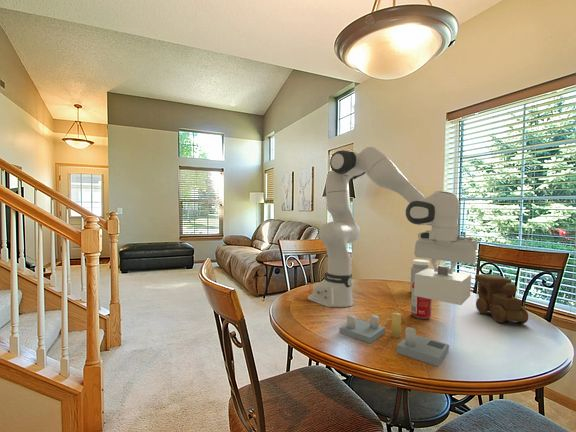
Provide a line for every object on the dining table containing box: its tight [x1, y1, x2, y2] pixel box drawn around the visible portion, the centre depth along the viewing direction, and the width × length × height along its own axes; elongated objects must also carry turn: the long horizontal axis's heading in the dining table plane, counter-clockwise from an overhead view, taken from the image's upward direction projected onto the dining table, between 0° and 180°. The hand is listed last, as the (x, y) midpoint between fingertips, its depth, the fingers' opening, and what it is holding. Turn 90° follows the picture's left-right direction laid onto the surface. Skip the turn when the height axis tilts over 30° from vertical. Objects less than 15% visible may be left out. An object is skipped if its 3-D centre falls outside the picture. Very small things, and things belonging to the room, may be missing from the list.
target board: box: [396, 326, 450, 367], centre depth 94 cm, size 12×12×8 cm
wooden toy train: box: [474, 273, 529, 324], centre depth 127 cm, size 20×11×17 cm, turn 0°
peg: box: [391, 312, 402, 339], centre depth 106 cm, size 3×3×8 cm
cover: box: [414, 264, 472, 306], centre depth 110 cm, size 15×15×11 cm
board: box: [338, 314, 386, 344], centre depth 108 cm, size 12×12×6 cm
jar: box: [410, 258, 431, 293], centre depth 162 cm, size 10×10×18 cm
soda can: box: [410, 280, 433, 320], centre depth 126 cm, size 8×8×15 cm
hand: (443, 272), depth 110 cm, fingers closed on cover, 3 cm apart
